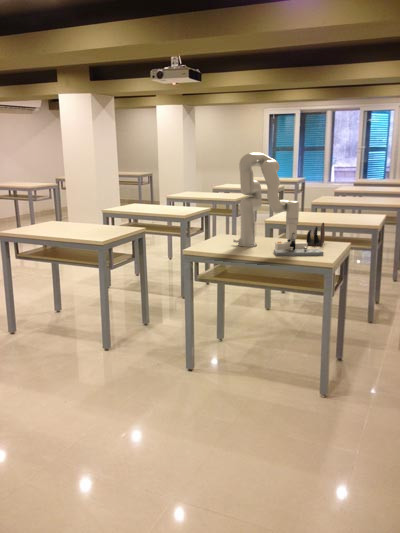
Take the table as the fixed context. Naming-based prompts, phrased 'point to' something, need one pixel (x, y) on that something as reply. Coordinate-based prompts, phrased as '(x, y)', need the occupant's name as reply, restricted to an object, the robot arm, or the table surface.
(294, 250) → the mounting plate
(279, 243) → the power strip
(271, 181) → the robot arm
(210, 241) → the table surface
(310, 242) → the letter holder
